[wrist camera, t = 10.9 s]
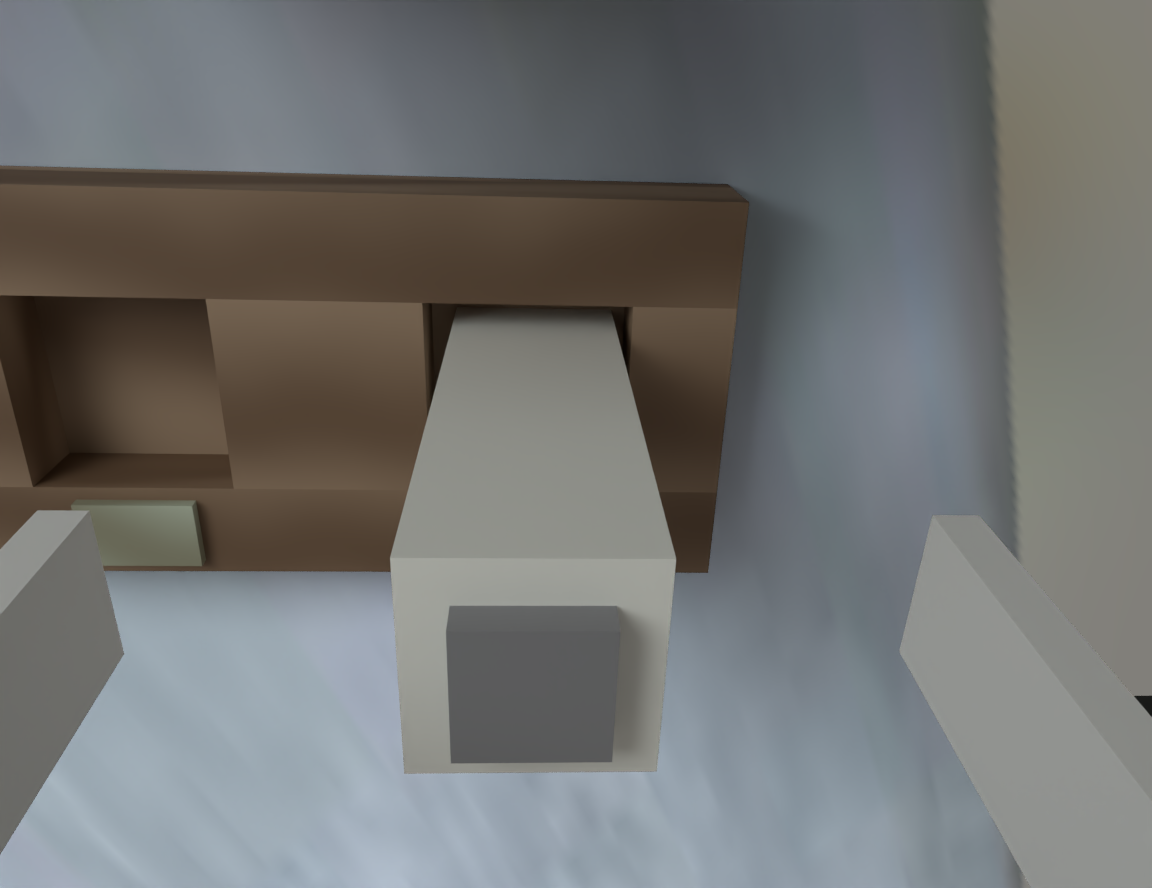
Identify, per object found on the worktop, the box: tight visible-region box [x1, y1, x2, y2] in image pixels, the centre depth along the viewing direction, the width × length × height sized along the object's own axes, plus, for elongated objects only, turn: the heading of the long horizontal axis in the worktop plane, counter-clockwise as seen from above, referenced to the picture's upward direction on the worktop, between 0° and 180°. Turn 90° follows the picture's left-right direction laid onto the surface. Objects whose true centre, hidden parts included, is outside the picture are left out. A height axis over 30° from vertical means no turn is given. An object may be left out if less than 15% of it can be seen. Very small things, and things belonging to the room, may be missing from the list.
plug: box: [390, 307, 676, 774], centre depth 19 cm, size 4×4×13 cm
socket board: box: [0, 166, 749, 573], centre depth 23 cm, size 10×20×3 cm, turn 88°
